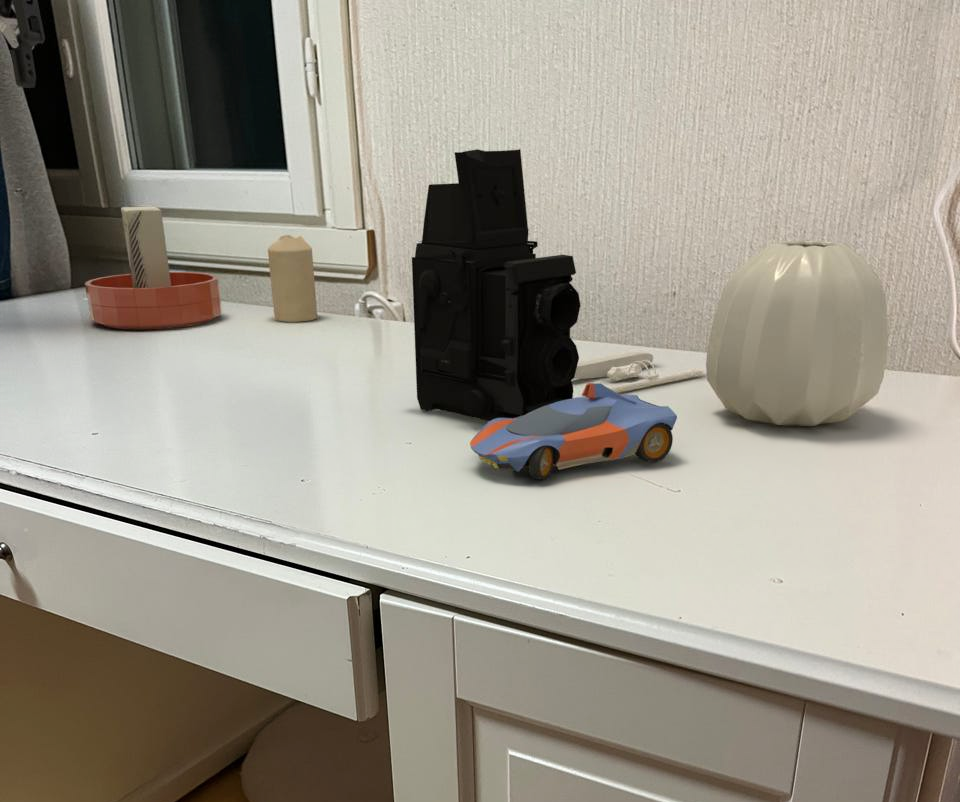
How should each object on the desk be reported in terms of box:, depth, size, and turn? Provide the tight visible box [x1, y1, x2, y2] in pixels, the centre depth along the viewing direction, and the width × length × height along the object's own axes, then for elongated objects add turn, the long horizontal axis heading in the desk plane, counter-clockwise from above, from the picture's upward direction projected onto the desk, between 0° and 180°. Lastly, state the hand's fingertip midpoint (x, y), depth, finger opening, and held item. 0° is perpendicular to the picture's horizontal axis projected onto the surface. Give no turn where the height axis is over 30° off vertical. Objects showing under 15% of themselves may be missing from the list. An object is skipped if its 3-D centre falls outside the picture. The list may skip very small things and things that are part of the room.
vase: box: [705, 240, 889, 427], centre depth 79 cm, size 14×14×13 cm
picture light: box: [606, 360, 704, 394], centre depth 93 cm, size 14×4×2 cm, turn 127°
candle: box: [267, 234, 318, 323], centre depth 126 cm, size 6×6×10 cm
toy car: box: [469, 382, 678, 480], centre depth 70 cm, size 8×15×5 cm, turn 117°
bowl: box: [84, 271, 223, 331], centre depth 127 cm, size 16×16×5 cm
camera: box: [411, 148, 581, 422], centre depth 79 cm, size 10×14×20 cm
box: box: [120, 205, 171, 288], centre depth 125 cm, size 5×4×13 cm
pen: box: [572, 350, 654, 380], centre depth 96 cm, size 2×14×2 cm, turn 131°
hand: (0, 87), depth 116 cm, fingers open, 8 cm apart
